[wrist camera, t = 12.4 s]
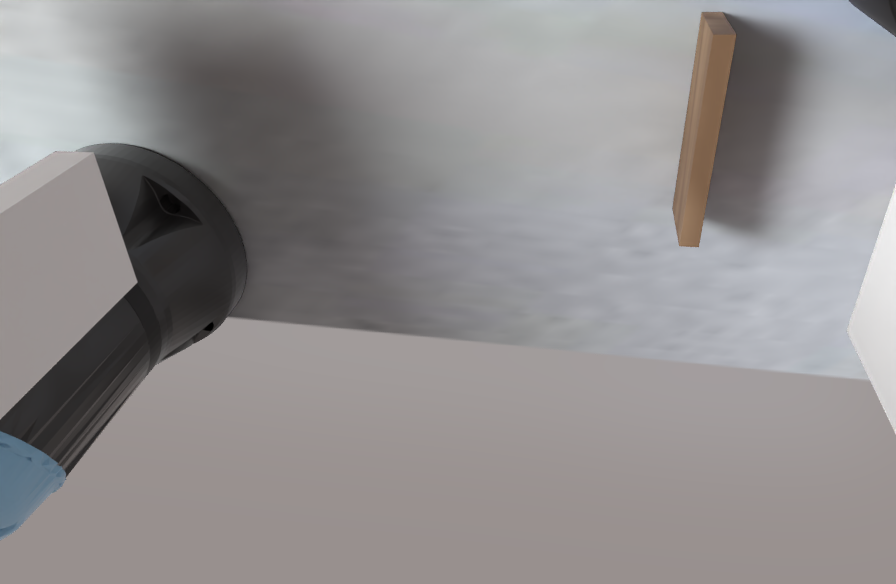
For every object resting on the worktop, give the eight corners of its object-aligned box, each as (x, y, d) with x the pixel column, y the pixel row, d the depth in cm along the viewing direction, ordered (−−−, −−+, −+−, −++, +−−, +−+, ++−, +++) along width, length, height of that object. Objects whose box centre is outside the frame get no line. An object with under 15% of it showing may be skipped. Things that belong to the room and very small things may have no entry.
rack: (672, 208, 42) (679, 246, 38) (701, 12, 36) (713, 34, 32) (994, 222, 39) (1035, 264, 35) (1085, 10, 33) (1146, 35, 29)
